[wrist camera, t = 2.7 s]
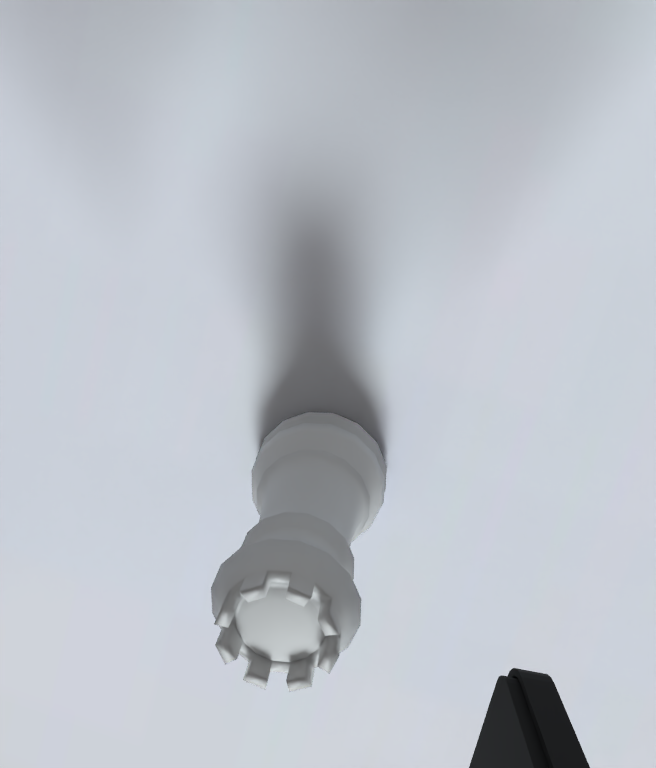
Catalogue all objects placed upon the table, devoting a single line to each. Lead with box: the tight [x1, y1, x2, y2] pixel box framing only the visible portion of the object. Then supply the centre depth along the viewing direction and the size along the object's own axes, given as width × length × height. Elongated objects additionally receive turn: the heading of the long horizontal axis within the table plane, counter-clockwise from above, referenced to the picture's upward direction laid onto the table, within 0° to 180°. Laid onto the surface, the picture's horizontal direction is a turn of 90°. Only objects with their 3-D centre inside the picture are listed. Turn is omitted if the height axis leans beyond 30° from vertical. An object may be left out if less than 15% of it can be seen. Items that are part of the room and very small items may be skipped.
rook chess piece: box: [211, 412, 386, 692], centre depth 14 cm, size 4×4×8 cm
